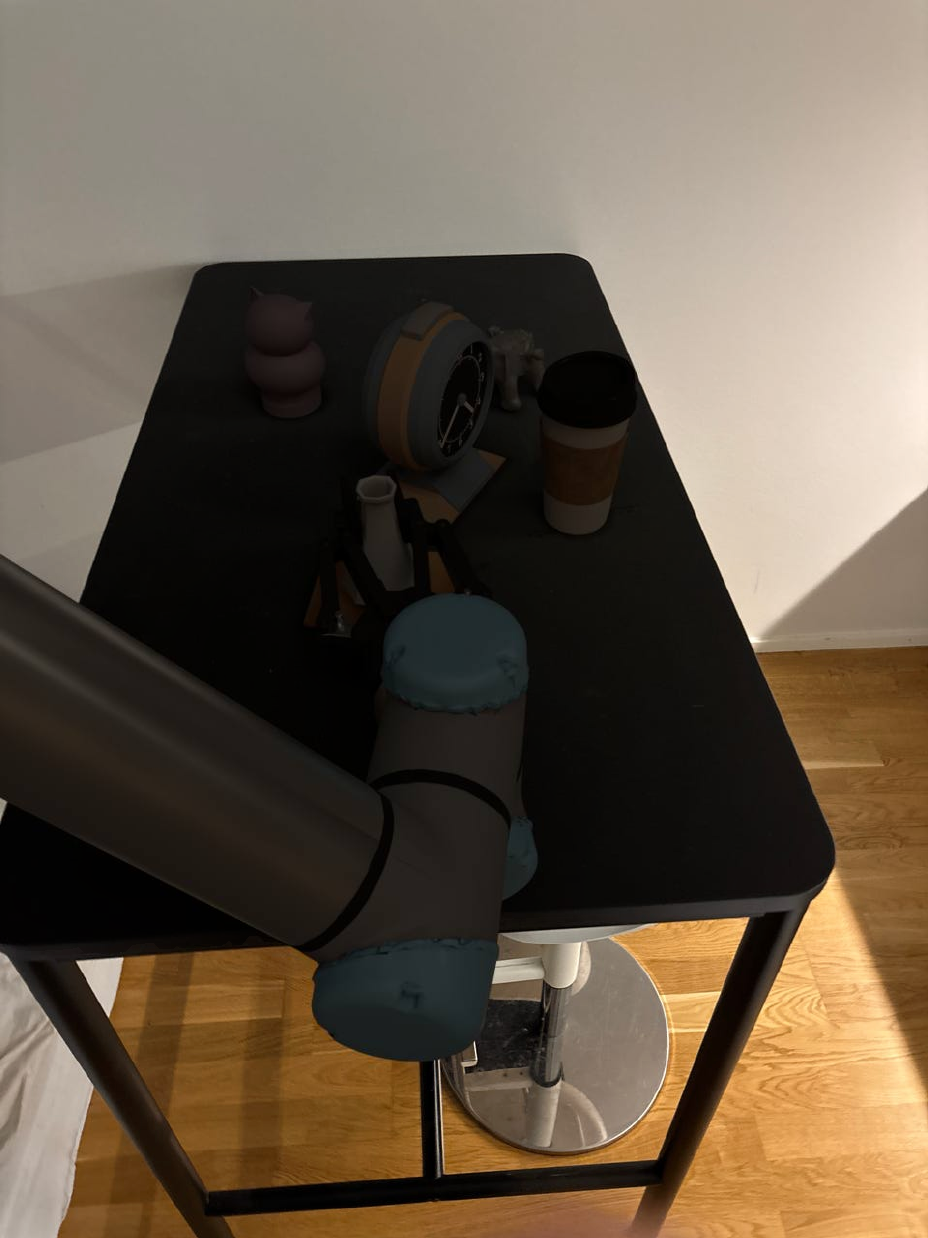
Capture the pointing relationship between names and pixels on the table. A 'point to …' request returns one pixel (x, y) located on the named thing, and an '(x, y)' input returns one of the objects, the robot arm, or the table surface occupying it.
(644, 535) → the table surface
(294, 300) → the cat figurine
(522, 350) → the gray elephant figurine
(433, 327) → the alarm clock
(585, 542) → the table surface
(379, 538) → the flask
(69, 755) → the robot arm
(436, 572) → the wooden board
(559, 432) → the coffee cup
